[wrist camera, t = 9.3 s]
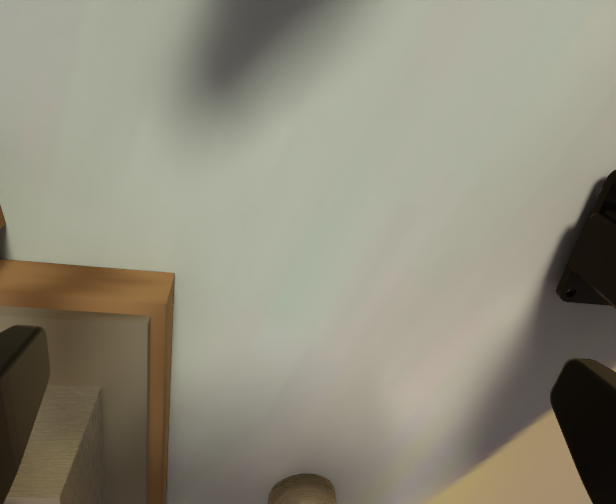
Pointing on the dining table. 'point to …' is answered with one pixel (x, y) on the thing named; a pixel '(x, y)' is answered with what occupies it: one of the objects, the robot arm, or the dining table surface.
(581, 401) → the robot arm
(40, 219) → the dining table surface
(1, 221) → the oak block
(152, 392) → the stand
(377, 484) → the dining table surface
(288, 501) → the tan rounded piece
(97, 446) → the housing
